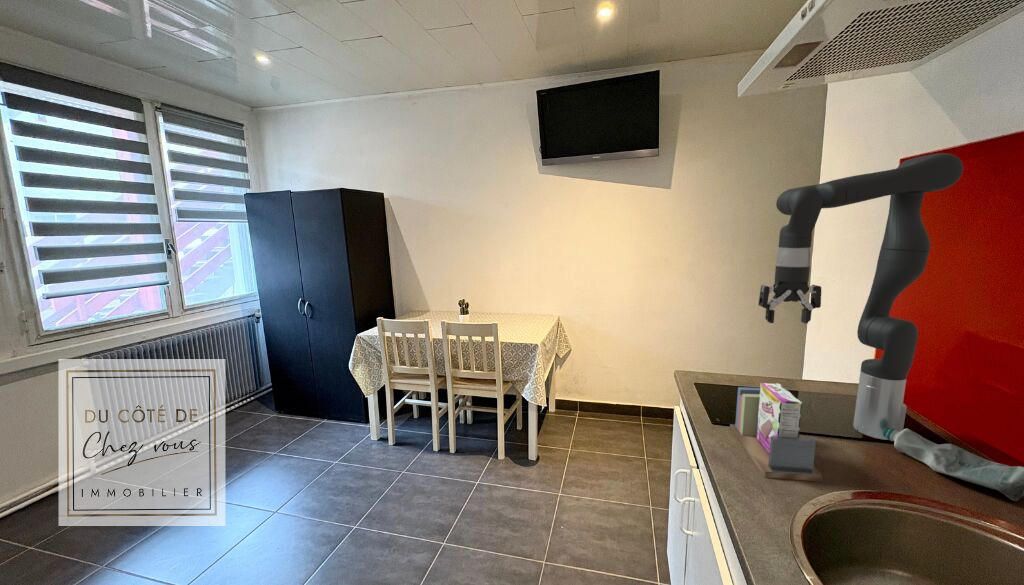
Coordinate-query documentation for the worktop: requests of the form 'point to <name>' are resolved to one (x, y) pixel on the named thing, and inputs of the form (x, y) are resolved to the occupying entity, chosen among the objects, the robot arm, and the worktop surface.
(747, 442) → the shelf board
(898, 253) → the robot arm
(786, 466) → the bookend
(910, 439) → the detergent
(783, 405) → the candy bar box
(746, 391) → the row of books
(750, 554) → the worktop surface
